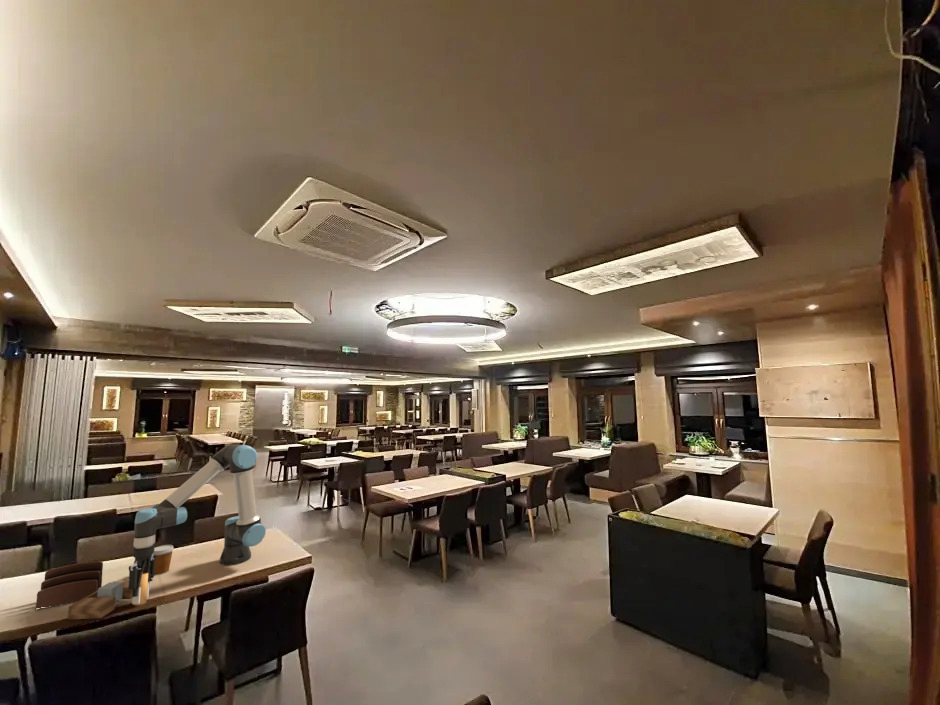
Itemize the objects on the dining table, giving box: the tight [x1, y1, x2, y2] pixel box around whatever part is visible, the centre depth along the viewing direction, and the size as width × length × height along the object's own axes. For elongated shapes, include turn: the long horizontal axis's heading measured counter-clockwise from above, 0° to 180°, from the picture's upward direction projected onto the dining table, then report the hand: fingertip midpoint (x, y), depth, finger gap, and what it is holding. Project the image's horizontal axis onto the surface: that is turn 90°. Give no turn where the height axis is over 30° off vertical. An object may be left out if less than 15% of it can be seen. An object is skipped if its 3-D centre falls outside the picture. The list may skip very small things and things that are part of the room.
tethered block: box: [97, 572, 148, 607], centre depth 179 cm, size 18×6×12 cm, turn 93°
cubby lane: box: [67, 580, 133, 620], centre depth 179 cm, size 13×22×5 cm, turn 3°
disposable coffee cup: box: [152, 544, 175, 575], centre depth 212 cm, size 10×10×12 cm
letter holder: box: [35, 560, 104, 609], centre depth 184 cm, size 10×20×14 cm, turn 123°
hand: (140, 600), depth 179 cm, fingers closed on tethered block, 4 cm apart
